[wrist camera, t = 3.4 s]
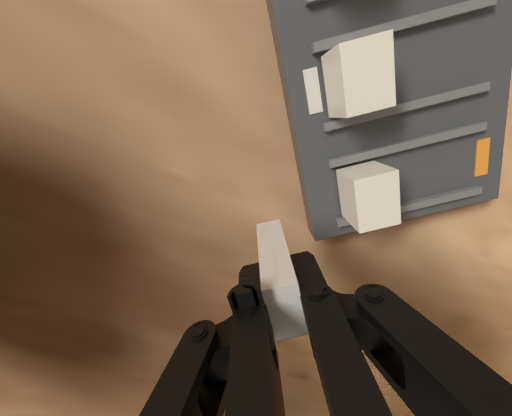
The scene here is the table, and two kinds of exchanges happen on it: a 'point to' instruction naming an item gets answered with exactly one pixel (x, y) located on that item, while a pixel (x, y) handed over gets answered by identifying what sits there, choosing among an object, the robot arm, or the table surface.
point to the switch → (369, 195)
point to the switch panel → (400, 101)
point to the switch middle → (360, 75)
